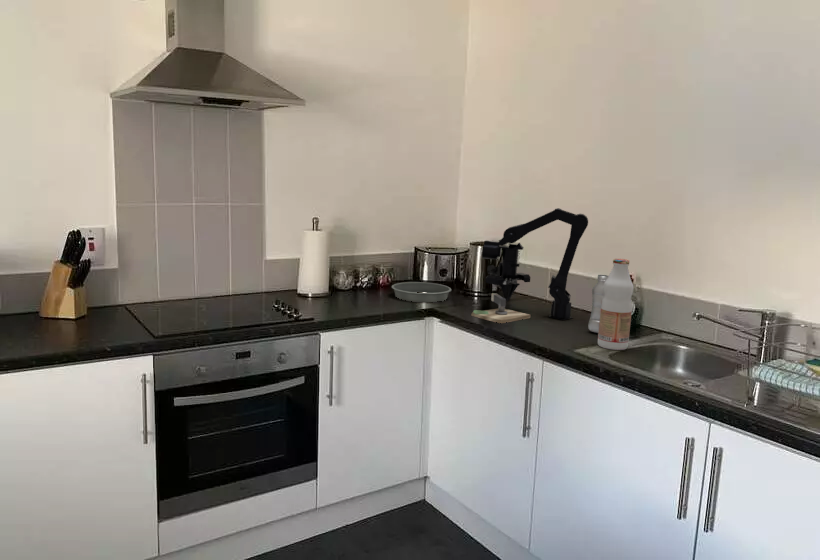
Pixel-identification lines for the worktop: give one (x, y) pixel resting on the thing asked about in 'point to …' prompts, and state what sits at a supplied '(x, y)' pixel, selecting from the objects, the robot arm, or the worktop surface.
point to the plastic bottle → (597, 303)
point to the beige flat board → (500, 315)
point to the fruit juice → (616, 308)
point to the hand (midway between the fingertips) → (506, 301)
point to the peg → (499, 301)
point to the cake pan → (411, 288)
